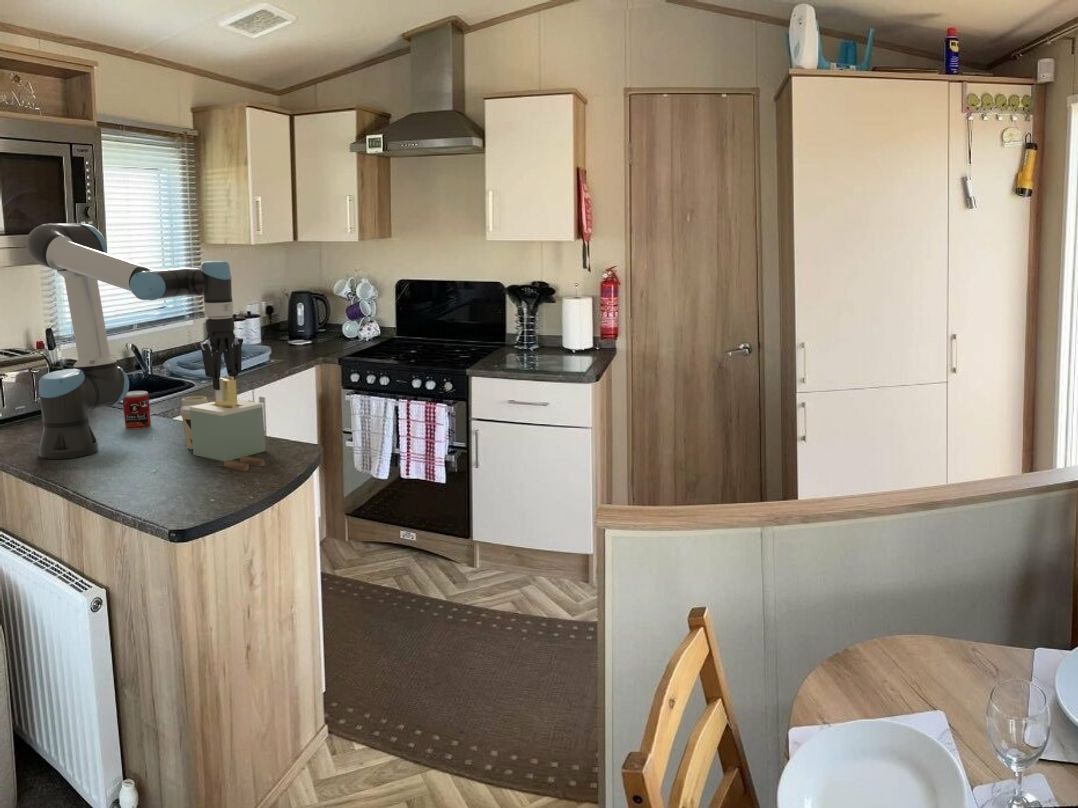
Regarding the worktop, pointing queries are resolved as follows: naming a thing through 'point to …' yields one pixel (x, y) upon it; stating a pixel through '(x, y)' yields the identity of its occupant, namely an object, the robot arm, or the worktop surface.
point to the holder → (244, 463)
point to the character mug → (193, 401)
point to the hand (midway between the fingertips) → (225, 399)
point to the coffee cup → (187, 425)
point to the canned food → (136, 409)
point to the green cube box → (227, 430)
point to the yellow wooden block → (228, 394)
